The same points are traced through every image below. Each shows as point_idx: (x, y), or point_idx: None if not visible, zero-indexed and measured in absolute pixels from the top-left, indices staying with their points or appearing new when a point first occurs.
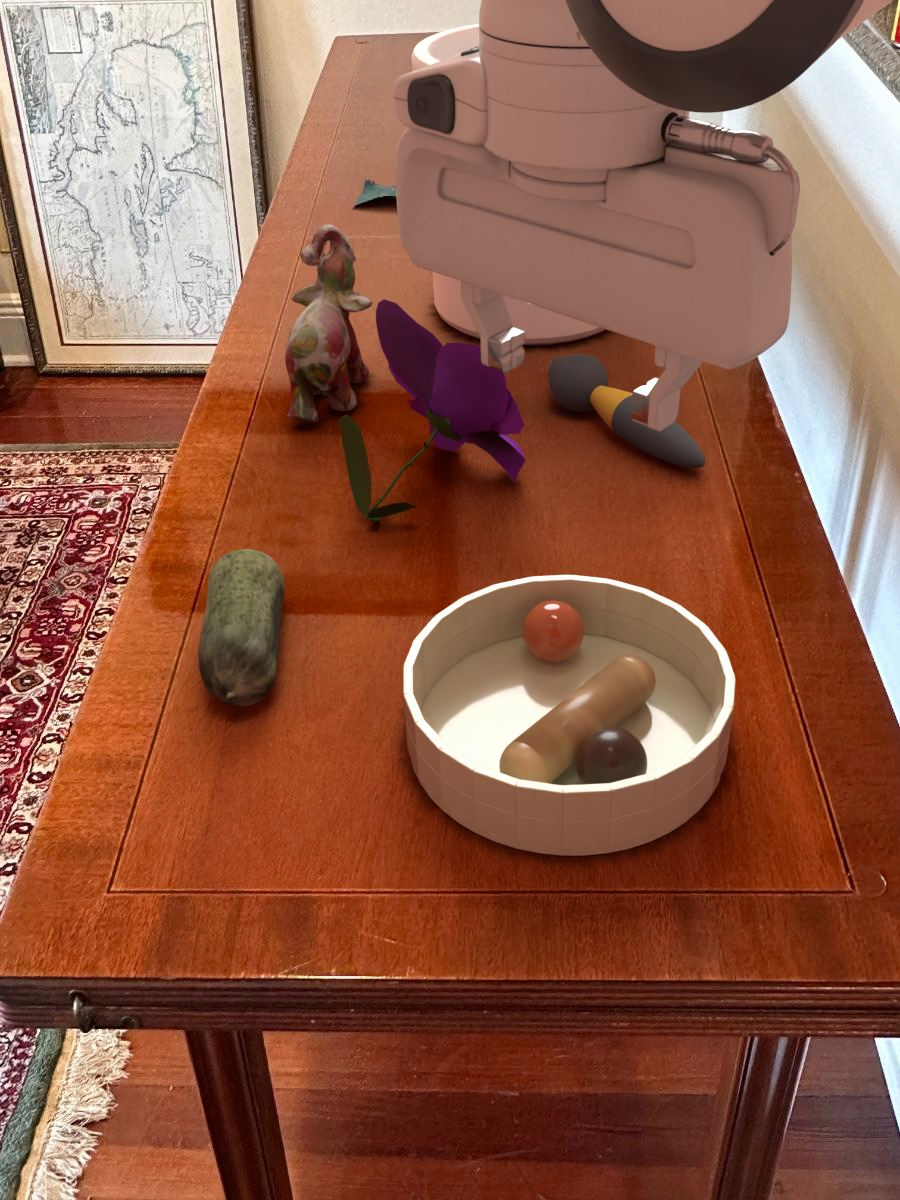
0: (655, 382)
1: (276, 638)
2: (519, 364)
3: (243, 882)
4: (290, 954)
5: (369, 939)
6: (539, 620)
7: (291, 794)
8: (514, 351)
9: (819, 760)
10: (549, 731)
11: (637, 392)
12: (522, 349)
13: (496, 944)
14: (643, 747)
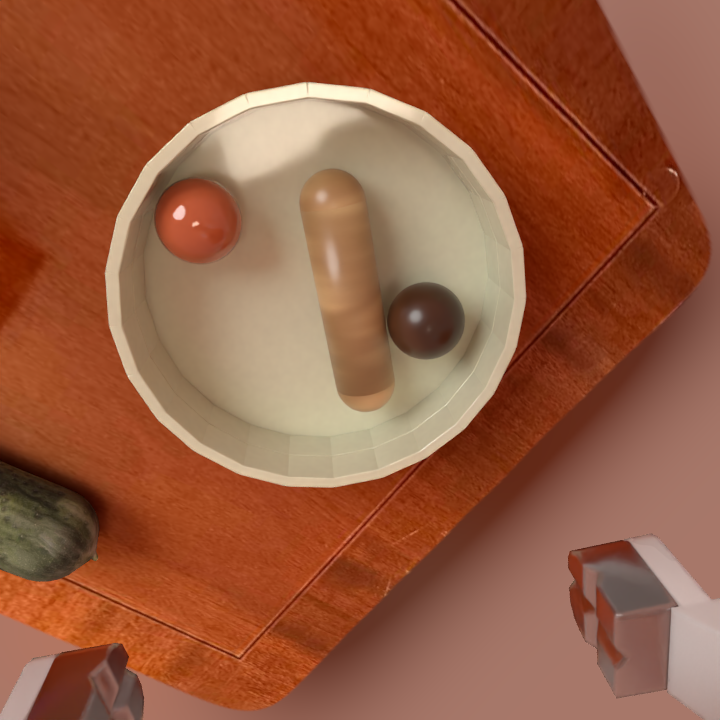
0: (635, 632)
1: (24, 488)
2: (124, 653)
3: (293, 588)
4: (375, 587)
5: (402, 543)
6: (197, 254)
7: (226, 526)
8: (106, 703)
9: (539, 78)
10: (366, 364)
11: (629, 692)
12: (97, 671)
13: (471, 477)
14: (448, 296)
